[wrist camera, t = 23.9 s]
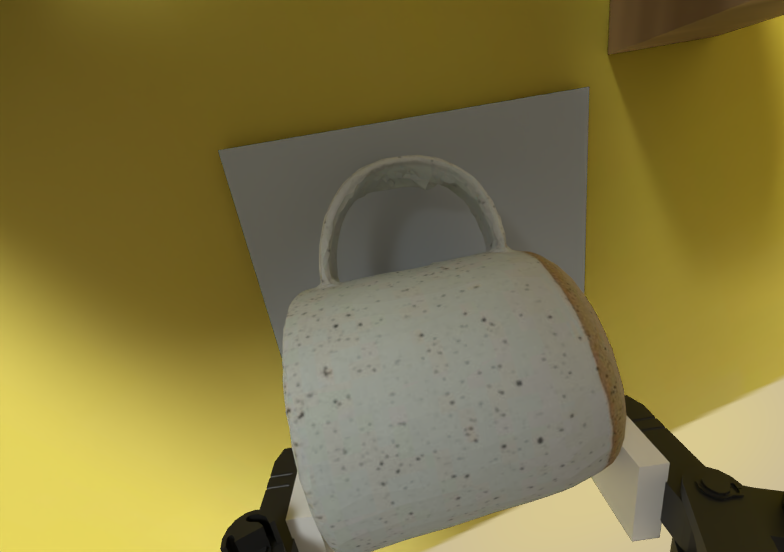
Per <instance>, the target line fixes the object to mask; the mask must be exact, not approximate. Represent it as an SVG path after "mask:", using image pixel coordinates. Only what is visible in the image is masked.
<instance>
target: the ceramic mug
mask: <svg viewBox="0 0 784 552" xmlns="http://www.w3.org/2000/svg"><path fill="white" fill-rule="evenodd" d="M437 184H439V185H442V186H444V187H447V188H449V189H450V190H451V191H452V192H454V193H455V194H456V195H457V196H458V197H460V198H461V199H463V200H464V201H465V203H466V204H467V205H468V207H469V209H470V212H471V213H472V214H473V216H474V217H475V219H476V221H477V223H478V226H479V228H480V230H481V232H482V235H483V238H484V242H485V245H486V252H483V253H478V254H474V255H470V256H465V257H460V258H455V259H451V260H446V261H439V262H432V263H431V264H430V265H428V266H423V267H418V268H413V269H408V270H403V271H396V272H389V273H384V274H378V275H374V276H368V277H364V278H359V279H355V280H350V281H345V282H340V280H339V278H338V276H337V275H338V272H337V246H338V239H339V235H340V230H341V226H342V223H343V221H344V218H345V216H346V214H347V211H348V210H349V208H350V207H351V206H352V205H353V203H354V202H355V201H356V200H357V199H359V198H362V197H364V196H365V195H366V194H368V193H371V192H377V191H384V190H390V189H395V188H402V187H419V188H422V189H425V190H428V189H431V188H434V187H435V186H436V185H437ZM319 272H320V280H321V282H320V285H318V286H317V287H315V288H312V289H309V290H305V291H303V292H301V293H300V294H298V295H297V296H296V297H295V298H294V299H293V301H292V302H291V304H290V306H289V308H288V313H287V317H286V321H285V325H284V329H283V359H282V365H283V389H284V400H285V407H286V415H287V420H288V424H289V428H290V436H291V444H292V451H293V455H294V459H295V463H296V467H297V472H298V476H299V481H300V483H301V486H302V489H303V491H304V494H305V497H306V500H307V503H308V506H309V509H310V512H311V515H312V517H313V519H314V521H315V524H316V526H317V528H318V530H319V532H320V533H321V535H322V536H323V538H324V539H325V541H326V542H327V544H328V546H329V547H330V548H331V549H332V550H333V551H335V552H371V551H374V550H377V549H380V548H383V547H386V546H389V545H392V544H395V543H398V542H401V541H404V540H407V539H410V538H414V537H417V536H421V535H424V534H428V533H431V532H435V531H438V530H442V529H445V528H448V527H452V526H455V525H458V524H461V523H464V522H467V521H470V520H473V519H476V518H479V517H482V516H485V515H488V514H491V513H494V512H497V511H501V510H504V509H508V508H511V507H515V506H518V505H522V504H525V503H528V502H532V501H535V500H538V499H541V498H544V497H547V496H550V495H553V494H556V493H559V492H562V491H564V490H567V489H569V488H571V487H574V486H575V485H577V484H579V483H581V482H583V481H585V480H586V479H588V478H590V477H592V476H594V475H596V474H597V473H599V472H601V471H603V470H604V469H605V468H607V467H608V466H609V465H611V464H612V463H613V462H614V460H615V459H616V457H617V456H618V455H619V453H620V450H621V447H622V444H623V441H624V436H625V426H626V416H627V415H626V406H625V397H624V389H623V385H622V381H621V378H620V374H619V371H618V367H617V364H616V360H615V357H614V353H613V350H612V347H611V345H610V343H609V340H608V338H607V336H606V333H605V331H604V329H603V327H602V325H601V323H600V321H599V319H598V316H597V314H596V312H595V311H594V309H593V308H592V306H591V304H590V303H589V301H588V300H587V298H586V296H585V295H584V294H583V292H582V291H581V290H580V288H579V287H578V286H577V284H576V283H575V282H574V280H573V279H572V278H571V277H570V276H569V275H568V274H567V273H566V272H564V271H563V270H562V269H561V268H560V267H559V266H558V265H556V264H555V263H553V262H551V261H549V260H548V259H546V258H544V257H543V256H541V255H539V254H536V253H533V252H528V251H516V250H512V249H510V248H509V247H508V246H507V244H506V236H505V231H504V229H503V226H502V221H501V217H500V215H499V214H498V212H497V210H496V208H495V205H494V203H493V200H492V199H491V198H490V196H489V195H488V194H487V192H486V191H485V190H484V188H483V187H482V186H481V184H480V183H479V182H478V181H477V180H476V179H475V178H474V177H473V176H472V175H471V174H469V173H468V172H466V171H464V170H463V169H461V168H460V167H458V166H456V165H454V164H452V163H449V162H447V161H445V160H443V159H440V158H436V157H430V156H422V155H405V156H399V157H392V158H386V159H381V160H379V161H376V162H374V163H371V164H369V165H366V166H364V167H362V168H360V169H358V170H357V171H356V172H355V173H354V174H352V175H351V176H350V177H349V178H348V179H347V180H346V181H345V182H344V183H343V184H342V186H341V187H340V188H339V190H338V191H337V193H336V195H335V197H334V198H333V200H332V202H331V204H330V206H329V208H328V211H327V213H326V215H325V217H324V221H323V226H322V232H321V238H320V244H319Z"/></svg>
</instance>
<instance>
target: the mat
mask: <svg viewBox="0 0 784 552" xmlns="http://www.w3.org/2000/svg"><path fill="white" fill-rule="evenodd" d="M588 118H589V87H584V88H579V89H573V90H567V91H561V92H555V93H550V94H544V95H538V96H532V97H526V98H520V99H515V100H509V101H503V102H497V103H491V104H485V105H480V106H474V107H468V108H462V109H456V110H450V111H445V112H439V113H433V114H427V115H421V116H415V117H410V118H404V119H398V120H392V121H386V122H380V123H375V124H369V125H363V126H357V127H351V128H345V129H340V130H334V131H328V132H322V133H316V134H310V135H305V136H299V137H293V138H287V139H281V140H275V141H270V142H264V143H258V144H252V145H246V146H240V147H235V148H229V149H223V150H218V152H219V156H220V159H221V162H222V165H223V169H224V172H225V175H226V178H227V182H228V185H229V188H230V191H231V195H232V198H233V201H234V204H235V208H236V211H237V214H238V217H239V221H240V224H241V227H242V230H243V234H244V237H245V240H246V243H247V247H248V250H249V253H250V256H251V260H252V263H253V266H254V269H255V273H256V276H257V279H258V282H259V286H260V289H261V292H262V295H263V299H264V302H265V305H266V308H267V312H268V315H269V318H270V321H271V325H272V328H273V331H274V334H275V338H276V341H277V344H278V347H279V351H280V354H281V357H282V359H283V329H284V325H285V321H286V317H287V313H288V308H289V306H290V304H291V302H292V301H293V299H294V298H295V297H296V296H297V295H298V294H300V293H301V292H303V291H305V290H309V289H312V288H315V287H317V286H318V285H320V282H321V280H320V272H319V244H320V238H321V232H322V226H323V221H324V217H325V215H326V213H327V211H328V208H329V206H330V204H331V202H332V200H333V198H334V197H335V195H336V193H337V191H338V190H339V188H340V187H341V186H342V184H343V183H344V182H345V181H346V180H347V179H348V178H349V177H350V176H351V175H352V174H354V173H355V172H356V171H357V170H358V169H360V168H362V167H364V166H366V165H369V164H371V163H374V162H376V161H379V160H381V159H386V158H392V157H399V156H405V155H422V156H430V157H436V158H440V159H443V160H445V161H447V162H449V163H452V164H454V165H456V166H458V167H460V168H461V169H463V170H464V171H466V172H468V173H469V174H471V175H472V176H473V177H474V178H475V179H476V180H477V181H478V182H479V183H480V184H481V186H482V187H483V188H484V190H485V191H486V192H487V194H488V195H489V196H490V198H491V199H492V200H493V203H494V205H495V208H496V210H497V212H498V214H499V215H500V217H501V221H502V226H503V229H504V231H505V236H506V244H507V246H508V247H509V248H510V249H512V250H516V251H528V252H533V253H536V254H539V255H541V256H543V257H544V258H546V259H548V260H549V261H551V262H553V263H555V264H556V265H558V266H559V267H560V268H561V269H562V270H563V271H564V272H566V273H567V274H568V275H569V276H570V277H571V278H572V279H573V280H574V282H575V283H576V284H577V286H578V287H579V288H580V290H581V291H582V292H583V294H584V282H585V241H586V200H587V159H588ZM483 252H486V245H485V242H484V238H483V235H482V232H481V230H480V228H479V226H478V223H477V221H476V219H475V217H474V216H473V214H472V213H471V212H470V209H469V207H468V205H467V204H466V203H465V201H464V200H463V199H461V198H460V197H458V196H457V195H456V194H455V193H454V192H452V191H451V190H450V189H449V188H447V187H444V186H442V185H439V184H437V185H436V186H435V187H434V188H431V189H428V190H425V189H422V188H419V187H402V188H395V189H390V190H384V191H377V192H371V193H368V194H366V195H365V196H364V197H362V198H359V199H357V200H356V201H355V202H354V203H353V205H352V206H351V207H350V208H349V210H348V211H347V214H346V216H345V218H344V221H343V223H342V226H341V230H340V235H339V239H338V246H337V272H338V275H337V276H338V278H339V280H340V282H345V281H350V280H355V279H359V278H364V277H368V276H374V275H378V274H384V273H389V272H396V271H403V270H408V269H413V268H418V267H423V266H428V265H430V264H431V263H432V262H439V261H446V260H451V259H455V258H460V257H465V256H470V255H474V254H478V253H483Z"/></svg>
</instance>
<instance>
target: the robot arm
mask: <svg viewBox="0 0 784 552" xmlns="http://www.w3.org/2000/svg"><path fill="white" fill-rule="evenodd" d="M624 397H625V406H626V415H627V416H626V426H625V436H624V441H623V444H622V447H621V450H620V453H619V455H618V456H617V457H616V459H615V460H614V462H613V463H612V464H611V465H609V466H608V467H607V468H605V469H604V470H603V471H601V472H599V473H597V474H596V475H594V476H592V477H591V478H592V479H593V481H594V483H595V484H596V486H597V487H598V489H599V490H600V492H601V493H602V495H603V496H604V498H605V500H606V501H607V503H608V505H609V506H610V508H611V509H612V511H613V512H614V514H615V516H616V517H617V519H618V520H619V522H620V523H621V525H622V526H623V528H624V530H625V531H626V533H627V534H628V536H629V538H630V539H631V541H639V540H645V539H652V538H659V537H660V531H661V524H662V523H663V525H664V526H665V527H666V529H667V530H668V531H669V533H670V534H671V536H672V537H673V538H672V544H671V550H670V552H784V491H776V490H768V489H760V488H753V487H747V486H742V485H741V484H740V483H739V482H738V481H736V480H735V479H734V478H732V477H731V476H729V475H727V474H725V473H723V472H721V471H719V470H716V469H712V468H709V467H705V466H704V465H703V464H702V463H701V462H700V461H699V460H698V459H697V458H696V457H695V456H694V455H693V454H692V453H691V452H690V451H689V450H688V449H687V448H686V447H685V446H684V445H683V444H682V443H681V442H680V441H679V440H678V439H677V438H676V437H675V436H674V435H673V434H672V433H671V432H670V431H669V430H668V429H665V427H664V425H663V424H662V423H661V422H660V421H659V420H658V419H655V416H654V415H653V414H652V413H651V412H650V411H649V410H648V409H647V408H646V407H645V406H644V405H643V404H641V403H639V402H637V401H636V400H634V399H632V398H630V397H628V396H627V395H625V396H624ZM220 549H221V551H222V552H335V551H333V550H332V549H331V548H330V547H329V546H328V544H327V542H326V541H325V539H324V538H323V536H322V535H321V533H320V532H319V530H318V528H317V526H316V524H315V521H314V519H313V517H312V515H311V512H310V509H309V506H308V503H307V500H306V497H305V494H304V491H303V489H302V486H301V483H300V481H299V476H298V472H297V467H296V463H295V459H294V455H293V451H292V448H287V449H284V450H283V452H282V453H281V454H280V456H279V457H278V458H277V460H276V461H275V463H274V466H273V470H272V473H271V478H270V479H269V482H268V485H267V490H266V491H265V495H264V498H263V501H262V504H261V507H260V510H254V511H251V512H248V513H245V514H244V515H242V516H241V517H239V518H238V519H236V520H235V521H234V522H233V524H232V525H231V526H230V527H229V528H228V529H227V531H226V533H225V535H224V537H223V538H222V543H221V548H220Z"/></svg>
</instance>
